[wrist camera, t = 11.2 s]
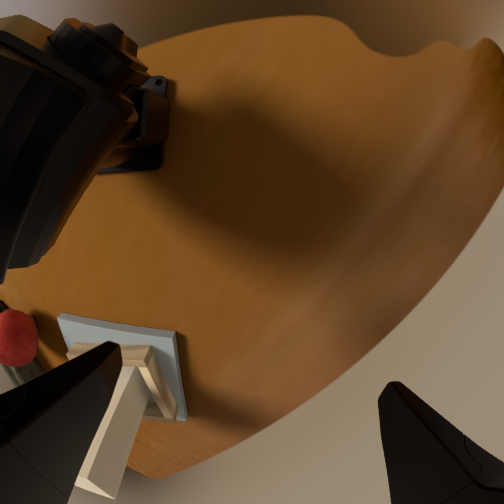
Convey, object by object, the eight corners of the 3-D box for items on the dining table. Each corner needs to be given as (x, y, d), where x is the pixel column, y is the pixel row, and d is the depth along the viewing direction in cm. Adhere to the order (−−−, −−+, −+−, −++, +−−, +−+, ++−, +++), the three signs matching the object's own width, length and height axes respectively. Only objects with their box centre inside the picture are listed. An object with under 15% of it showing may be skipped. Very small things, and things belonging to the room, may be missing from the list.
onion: (58, 345, 23) (22, 392, 15) (26, 336, 23) (-9, 376, 15) (40, 298, 21) (-7, 343, 13) (10, 293, 21) (-33, 330, 13)
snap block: (102, 361, 22) (47, 462, 10) (136, 363, 22) (87, 478, 10) (117, 389, 23) (76, 485, 12) (151, 392, 23) (115, 499, 11)
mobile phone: (-30, 316, 17) (35, 414, 22) (-22, 314, 17) (47, 417, 21) (-6, 298, 22) (51, 391, 26) (3, 294, 21) (63, 393, 26)
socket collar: (75, 341, 21) (65, 354, 19) (150, 344, 21) (143, 360, 19) (109, 401, 24) (103, 413, 22) (178, 407, 24) (174, 422, 22)
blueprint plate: (93, 394, 25) (90, 400, 24) (62, 312, 21) (56, 317, 20) (187, 414, 26) (186, 421, 25) (175, 331, 21) (172, 338, 21)
